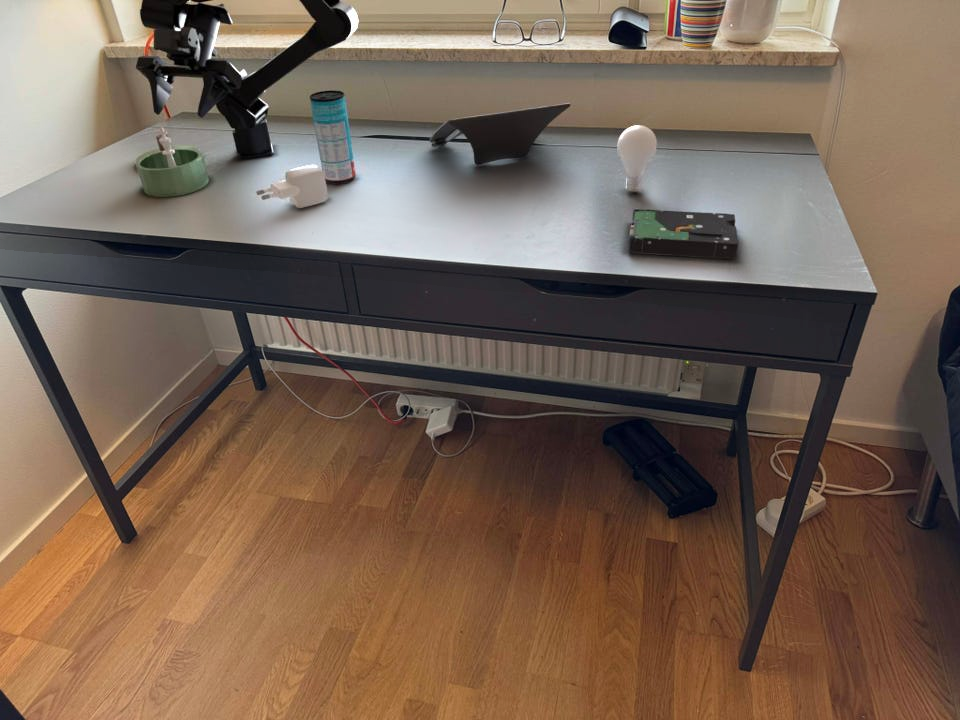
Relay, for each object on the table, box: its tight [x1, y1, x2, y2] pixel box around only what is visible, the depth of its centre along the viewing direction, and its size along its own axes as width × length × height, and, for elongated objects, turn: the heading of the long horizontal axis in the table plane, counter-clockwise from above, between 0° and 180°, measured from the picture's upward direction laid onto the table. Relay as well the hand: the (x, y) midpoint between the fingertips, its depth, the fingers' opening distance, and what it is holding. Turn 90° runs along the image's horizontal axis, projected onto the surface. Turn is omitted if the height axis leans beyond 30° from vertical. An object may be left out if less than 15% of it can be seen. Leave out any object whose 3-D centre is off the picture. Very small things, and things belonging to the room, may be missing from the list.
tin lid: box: [135, 133, 202, 163], centre depth 143 cm, size 12×12×5 cm
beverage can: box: [309, 90, 357, 185], centre depth 128 cm, size 6×6×15 cm
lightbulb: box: [616, 124, 658, 193], centre depth 118 cm, size 6×6×11 cm
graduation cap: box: [429, 102, 571, 166], centre depth 137 cm, size 23×23×9 cm
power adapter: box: [255, 164, 329, 209], centre depth 121 cm, size 11×5×6 cm, turn 123°
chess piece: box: [157, 126, 177, 168], centre depth 130 cm, size 5×5×10 cm
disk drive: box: [627, 208, 739, 259], centre depth 104 cm, size 10×3×15 cm
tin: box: [135, 149, 210, 198], centre depth 132 cm, size 11×11×5 cm
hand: (177, 115), depth 130 cm, fingers open, 9 cm apart
